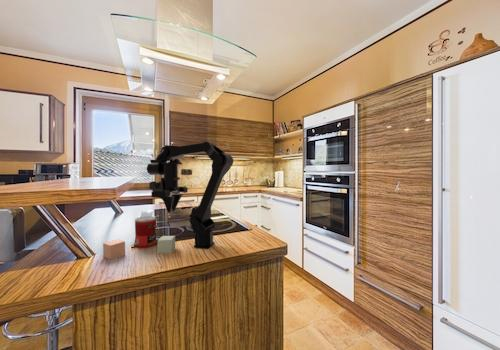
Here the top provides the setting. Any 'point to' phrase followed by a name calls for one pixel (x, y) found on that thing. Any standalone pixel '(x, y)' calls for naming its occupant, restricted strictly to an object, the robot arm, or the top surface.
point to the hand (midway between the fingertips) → (171, 211)
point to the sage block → (166, 244)
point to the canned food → (145, 231)
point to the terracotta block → (113, 249)
